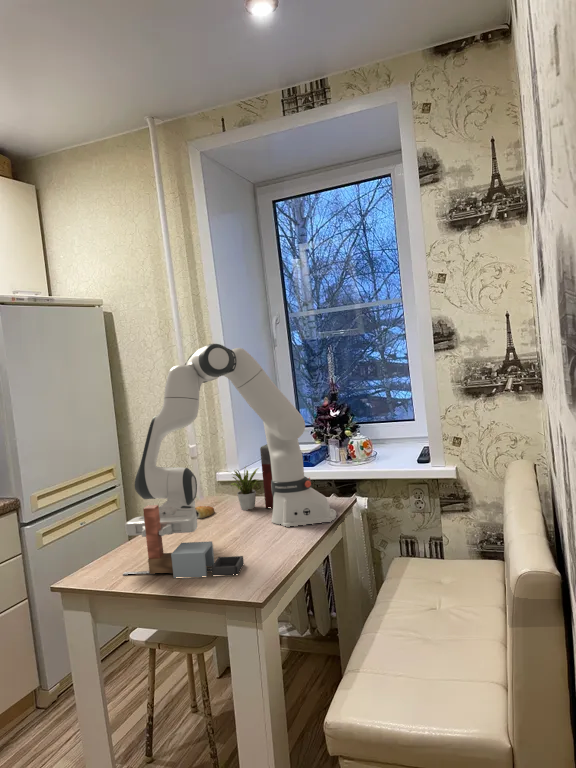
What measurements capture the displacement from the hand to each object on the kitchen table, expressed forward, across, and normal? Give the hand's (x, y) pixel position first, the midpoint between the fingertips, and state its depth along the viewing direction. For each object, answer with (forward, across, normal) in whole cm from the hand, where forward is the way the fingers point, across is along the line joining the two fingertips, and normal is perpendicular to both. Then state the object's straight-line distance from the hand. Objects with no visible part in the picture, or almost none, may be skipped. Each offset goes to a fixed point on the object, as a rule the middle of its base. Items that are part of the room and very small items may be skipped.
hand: (152, 533), depth 165 cm
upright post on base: (-1, +3, +11) cm, 11 cm away
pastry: (-56, -3, +12) cm, 58 cm away
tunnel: (-1, +11, +12) cm, 16 cm away
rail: (-1, +3, +12) cm, 12 cm away
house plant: (-62, +12, +12) cm, 64 cm away
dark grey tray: (-1, +20, +12) cm, 23 cm away
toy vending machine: (-65, +26, +12) cm, 71 cm away
